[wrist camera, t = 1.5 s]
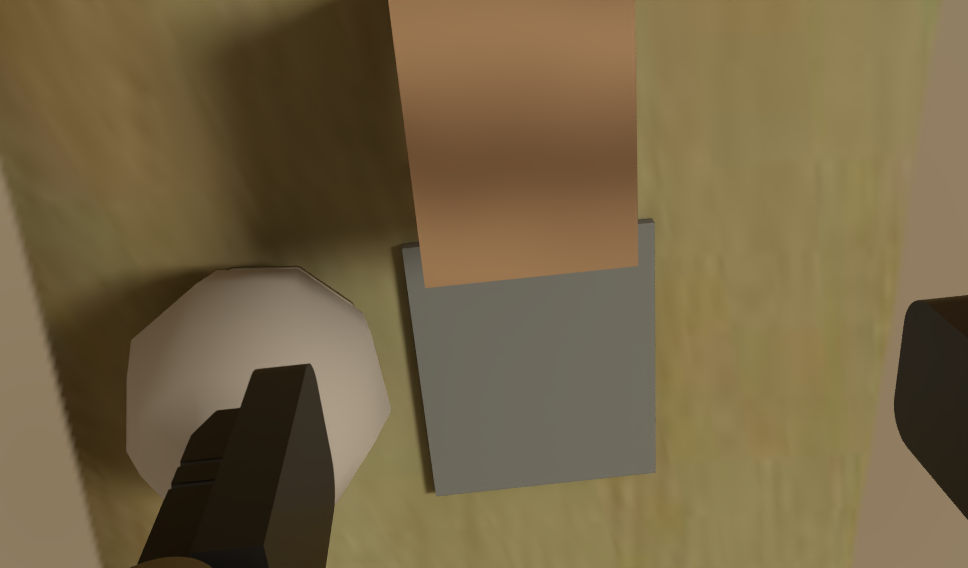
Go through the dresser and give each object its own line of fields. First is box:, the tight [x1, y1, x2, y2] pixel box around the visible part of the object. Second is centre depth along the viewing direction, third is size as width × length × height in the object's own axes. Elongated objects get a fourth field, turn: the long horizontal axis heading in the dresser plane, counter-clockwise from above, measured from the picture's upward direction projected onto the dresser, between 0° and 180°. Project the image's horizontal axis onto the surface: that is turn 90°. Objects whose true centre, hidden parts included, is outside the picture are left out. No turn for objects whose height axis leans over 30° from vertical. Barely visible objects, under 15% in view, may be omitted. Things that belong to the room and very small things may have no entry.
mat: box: [402, 218, 655, 496], centre depth 34 cm, size 11×9×1 cm
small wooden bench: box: [388, 0, 638, 288], centre depth 26 cm, size 8×6×7 cm
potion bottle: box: [126, 266, 391, 504], centre depth 25 cm, size 9×9×18 cm
